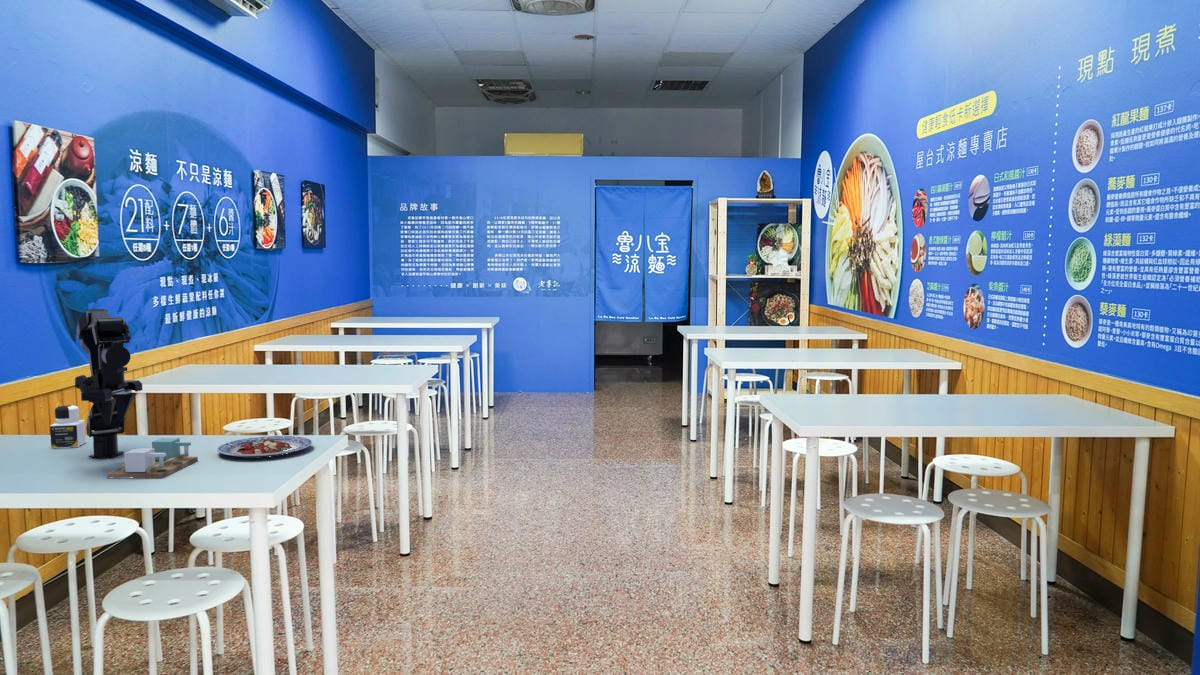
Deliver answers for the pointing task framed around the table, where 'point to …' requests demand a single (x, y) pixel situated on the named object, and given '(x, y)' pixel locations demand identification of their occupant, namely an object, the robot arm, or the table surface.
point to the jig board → (157, 468)
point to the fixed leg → (142, 459)
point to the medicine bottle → (67, 428)
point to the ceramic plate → (263, 446)
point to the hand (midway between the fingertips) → (114, 422)
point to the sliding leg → (170, 447)
